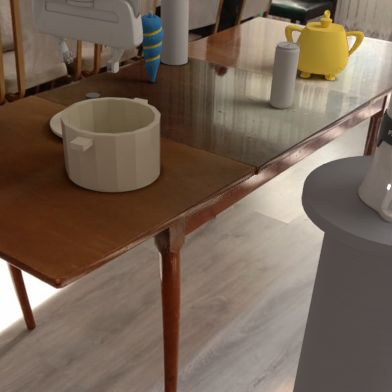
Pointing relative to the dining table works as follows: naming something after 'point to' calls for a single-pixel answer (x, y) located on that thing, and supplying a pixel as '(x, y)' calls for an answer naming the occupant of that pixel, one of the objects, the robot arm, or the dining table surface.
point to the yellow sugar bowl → (323, 47)
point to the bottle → (174, 31)
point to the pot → (112, 143)
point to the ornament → (152, 42)
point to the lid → (56, 121)
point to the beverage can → (284, 74)
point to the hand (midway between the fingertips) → (90, 67)
